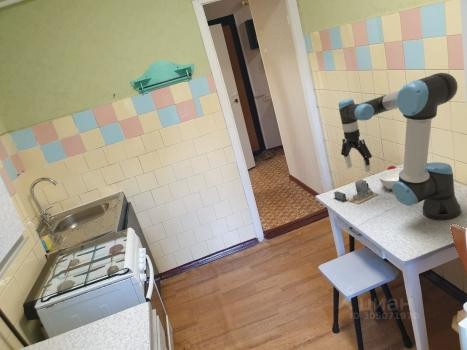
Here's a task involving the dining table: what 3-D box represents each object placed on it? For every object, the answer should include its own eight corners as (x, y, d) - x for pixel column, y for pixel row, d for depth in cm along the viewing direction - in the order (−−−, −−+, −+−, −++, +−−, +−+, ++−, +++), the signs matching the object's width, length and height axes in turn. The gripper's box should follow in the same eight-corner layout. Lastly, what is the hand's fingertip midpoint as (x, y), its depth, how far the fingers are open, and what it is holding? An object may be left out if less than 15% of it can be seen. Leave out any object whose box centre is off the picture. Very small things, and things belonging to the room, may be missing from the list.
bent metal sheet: (373, 194, 200) (370, 178, 197) (358, 201, 196) (355, 185, 194) (367, 192, 203) (364, 177, 201) (353, 199, 200) (350, 184, 197)
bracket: (404, 177, 211) (402, 164, 209) (398, 180, 209) (396, 167, 207) (386, 174, 221) (384, 162, 219) (381, 177, 220) (379, 164, 217)
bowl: (376, 185, 211) (374, 173, 209) (409, 177, 209) (407, 165, 207) (387, 196, 194) (385, 183, 192) (423, 188, 192) (422, 175, 190)
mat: (378, 194, 199) (378, 193, 198) (358, 204, 194) (358, 203, 194) (367, 191, 206) (367, 190, 206) (347, 201, 201) (347, 200, 201)
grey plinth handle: (370, 189, 207) (369, 183, 206) (343, 202, 201) (342, 195, 200) (360, 186, 214) (359, 180, 213) (334, 199, 208) (332, 192, 207)
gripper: (374, 128, 179) (382, 170, 185) (340, 127, 202) (348, 163, 207) (362, 133, 177) (370, 175, 182) (329, 131, 199) (337, 168, 205)
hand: (358, 169), depth 195 cm, fingers open, 13 cm apart
